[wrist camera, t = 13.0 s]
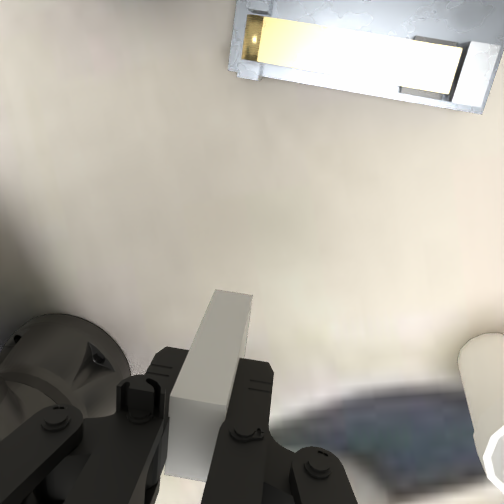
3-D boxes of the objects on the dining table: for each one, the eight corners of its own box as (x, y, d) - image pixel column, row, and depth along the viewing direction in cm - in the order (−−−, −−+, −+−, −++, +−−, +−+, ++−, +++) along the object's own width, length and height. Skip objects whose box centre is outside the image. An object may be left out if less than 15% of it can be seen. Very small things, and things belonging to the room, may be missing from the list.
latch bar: (243, 59, 35) (239, 58, 34) (249, 16, 34) (245, 13, 32) (444, 93, 34) (449, 93, 32) (457, 49, 32) (463, 48, 31)
